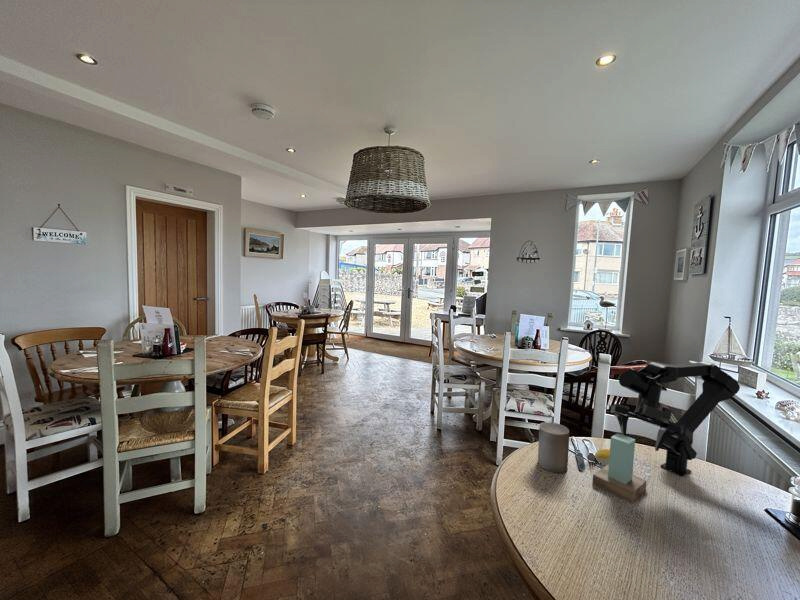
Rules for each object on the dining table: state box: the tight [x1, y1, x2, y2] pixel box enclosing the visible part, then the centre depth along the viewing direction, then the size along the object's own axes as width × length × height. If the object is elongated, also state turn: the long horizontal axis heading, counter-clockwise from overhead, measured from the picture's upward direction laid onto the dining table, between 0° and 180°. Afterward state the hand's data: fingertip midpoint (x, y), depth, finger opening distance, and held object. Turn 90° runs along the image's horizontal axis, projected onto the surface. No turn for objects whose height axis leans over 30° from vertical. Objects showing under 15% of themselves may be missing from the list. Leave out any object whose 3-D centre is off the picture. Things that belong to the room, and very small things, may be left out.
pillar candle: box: [537, 421, 570, 474], centre depth 116 cm, size 10×10×15 cm
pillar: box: [608, 433, 636, 484], centre depth 105 cm, size 5×5×13 cm
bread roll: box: [594, 448, 610, 467], centre depth 121 cm, size 8×9×4 cm
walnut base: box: [592, 464, 647, 503], centre depth 106 cm, size 11×11×3 cm
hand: (639, 444), depth 108 cm, fingers open, 9 cm apart
